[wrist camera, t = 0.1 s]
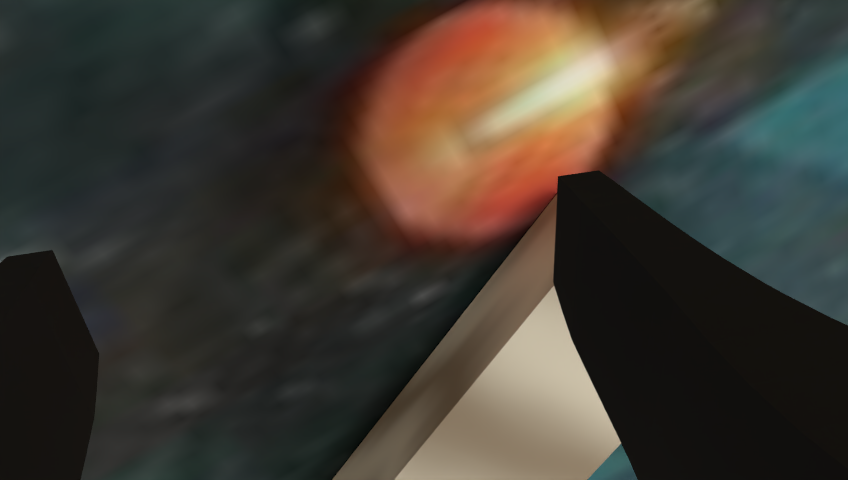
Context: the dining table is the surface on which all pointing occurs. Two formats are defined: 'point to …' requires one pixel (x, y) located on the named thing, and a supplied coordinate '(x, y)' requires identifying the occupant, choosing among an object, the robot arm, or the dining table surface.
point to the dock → (497, 389)
